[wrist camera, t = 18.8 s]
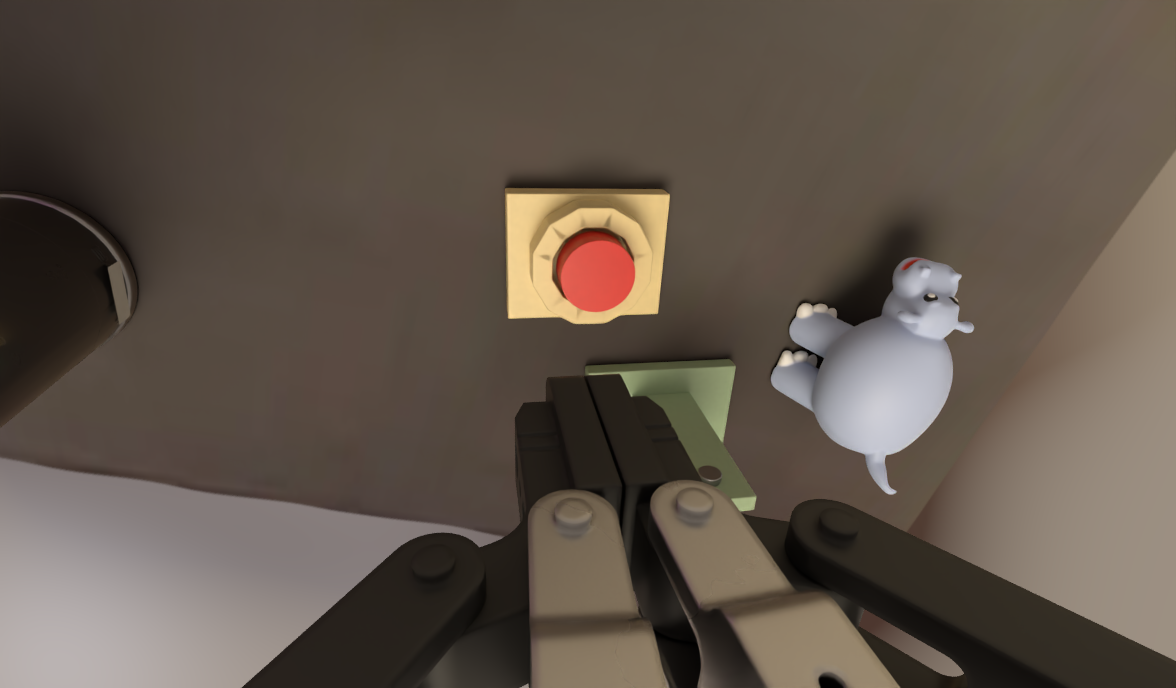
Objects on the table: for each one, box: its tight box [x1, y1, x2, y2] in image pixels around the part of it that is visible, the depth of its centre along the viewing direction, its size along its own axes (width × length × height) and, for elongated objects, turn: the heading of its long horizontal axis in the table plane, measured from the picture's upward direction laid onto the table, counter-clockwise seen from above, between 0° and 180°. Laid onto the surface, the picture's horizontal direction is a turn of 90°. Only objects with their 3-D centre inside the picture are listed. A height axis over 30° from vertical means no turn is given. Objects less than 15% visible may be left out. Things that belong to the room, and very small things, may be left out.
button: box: [556, 231, 635, 312], centre depth 36 cm, size 4×4×2 cm
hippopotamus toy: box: [771, 257, 974, 494], centre depth 42 cm, size 11×15×10 cm
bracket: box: [585, 359, 756, 511], centre depth 41 cm, size 11×9×13 cm
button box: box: [505, 188, 670, 324], centre depth 38 cm, size 10×8×4 cm
